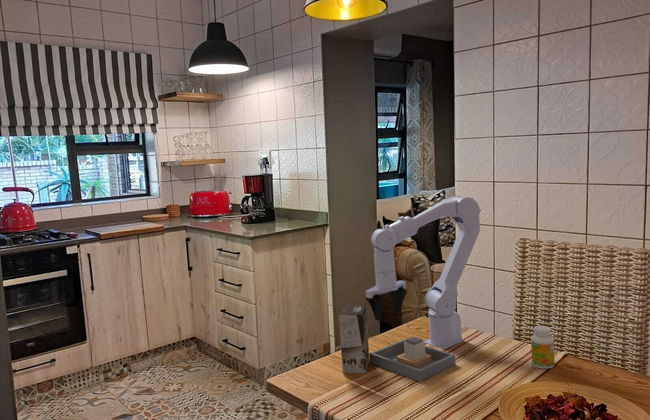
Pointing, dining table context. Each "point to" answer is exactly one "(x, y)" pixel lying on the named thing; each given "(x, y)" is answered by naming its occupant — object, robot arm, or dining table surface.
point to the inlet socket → (402, 359)
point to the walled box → (388, 361)
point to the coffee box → (354, 339)
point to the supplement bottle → (542, 347)
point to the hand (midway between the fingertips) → (387, 316)
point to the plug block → (414, 349)
